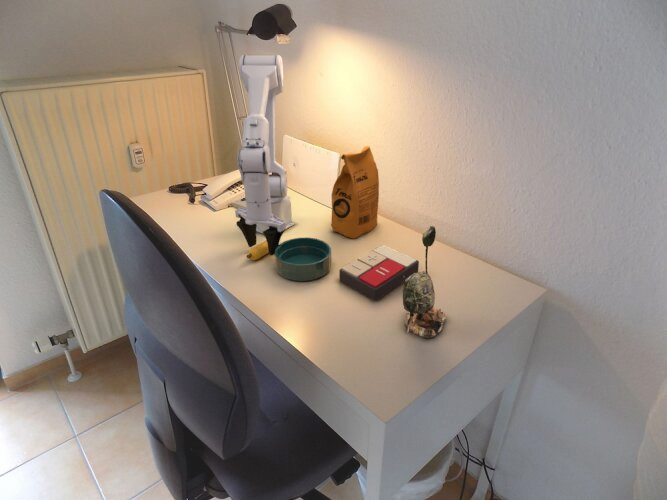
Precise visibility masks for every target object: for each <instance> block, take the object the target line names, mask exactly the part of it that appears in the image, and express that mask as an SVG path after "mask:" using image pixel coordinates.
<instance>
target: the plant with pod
mask: <svg viewBox="0 0 667 500" xmlns="http://www.w3.org/2000/svg"><path fill="white" fill-rule="evenodd" d="M436 235H437V231H436V227H435V226H433V225H429V227H427V228H426V229H425V230H424V231H423V233H422V236H421V241H422V244H423V247H425V256H424V257H425V258H424V259H425V266H424V267H425V270H424V271H420V272H419V271H418V273H414V274H412V275H410V276H409V277H408V278H407V279H406V280H405V281H404V282H403V288H402V306H403V309H404V310H405V311H406V312H407V313H406V314H405V320H403V321H404V325H403V327H405V329H406V333H408V334H409V333H410V332H411V333H413V334H416V336H419V337H421V338H426V339H427V338H429V339H431V338H434V337H435V336H436V335H437V334H439V333H441V331H442V330H443V326H444V323H446V319H447V316H446V314H445V313H444V311H441V310H442V308H439V309H438V308H436V307H434V305H435V300H436V293H435V287H434V283H433V279H432V277H431V275H430V274H429V273H428V251H429V247H432V245H433V244H434V243H435V240H436ZM403 277H405V276H403Z"/></svg>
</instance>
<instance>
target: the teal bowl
mask: <svg viewBox="0 0 667 500" xmlns="http://www.w3.org/2000/svg"><path fill="white" fill-rule="evenodd" d="M274 260H275V262H274V263H275V270H276V272H277V273H278V275H280V276H281V277H282V278H285V279H287V280H290V281H298V282H303V281H304V282H305V281H313V280H317V279H319V278H321V277H324V276H325V275H327V274H328V273H329V272H330V270H331V269H332V248H331V246H330V244H329V243H328V242H326V241H324V240H321V239H318V238H315V237H307V236H306V237H295V238H290V239H287V240H285V241H283V242H280V243H279V245H278V246H277V248H276V249H275V254H274Z"/></svg>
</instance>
